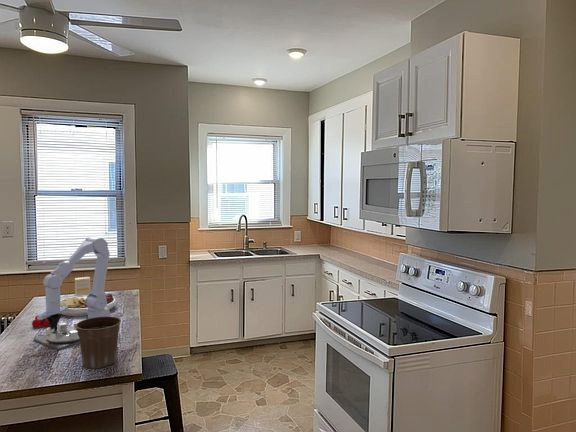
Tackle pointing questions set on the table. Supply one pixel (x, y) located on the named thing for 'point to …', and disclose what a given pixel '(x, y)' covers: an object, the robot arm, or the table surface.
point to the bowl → (82, 305)
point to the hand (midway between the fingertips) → (54, 330)
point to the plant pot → (98, 341)
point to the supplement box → (82, 286)
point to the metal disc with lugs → (62, 334)
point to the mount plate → (55, 345)
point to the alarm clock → (40, 322)
